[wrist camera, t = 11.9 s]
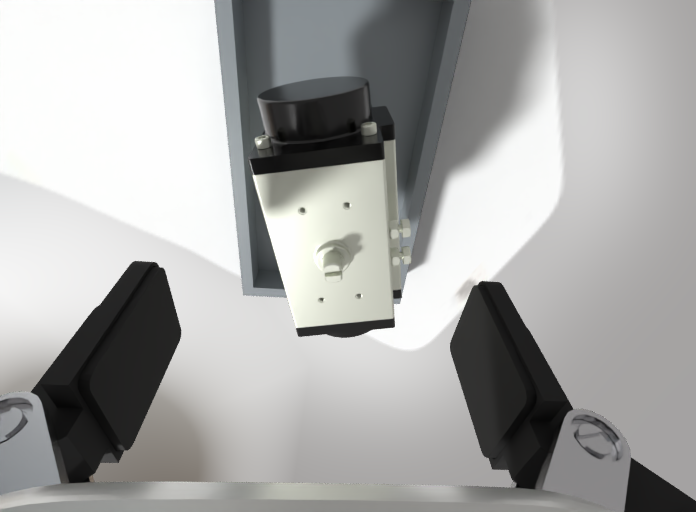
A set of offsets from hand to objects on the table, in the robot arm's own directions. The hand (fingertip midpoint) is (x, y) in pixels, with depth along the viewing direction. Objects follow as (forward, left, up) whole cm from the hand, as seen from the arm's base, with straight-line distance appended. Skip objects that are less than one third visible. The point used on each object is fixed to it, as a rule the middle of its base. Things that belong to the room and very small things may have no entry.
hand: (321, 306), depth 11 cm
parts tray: (+1, 0, -15) cm, 15 cm away
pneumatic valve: (+1, +1, -15) cm, 15 cm away
